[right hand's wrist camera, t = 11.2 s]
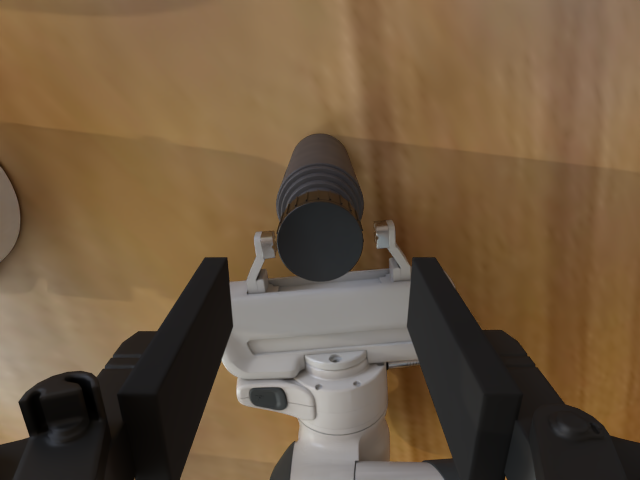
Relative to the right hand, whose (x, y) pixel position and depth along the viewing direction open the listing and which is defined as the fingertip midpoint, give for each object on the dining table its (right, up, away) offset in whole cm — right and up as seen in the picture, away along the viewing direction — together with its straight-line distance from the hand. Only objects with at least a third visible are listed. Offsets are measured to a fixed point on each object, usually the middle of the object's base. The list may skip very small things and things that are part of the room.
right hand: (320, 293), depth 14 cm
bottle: (0, +9, +22) cm, 24 cm away
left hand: (0, +3, +18) cm, 19 cm away
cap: (0, +2, +5) cm, 5 cm away
